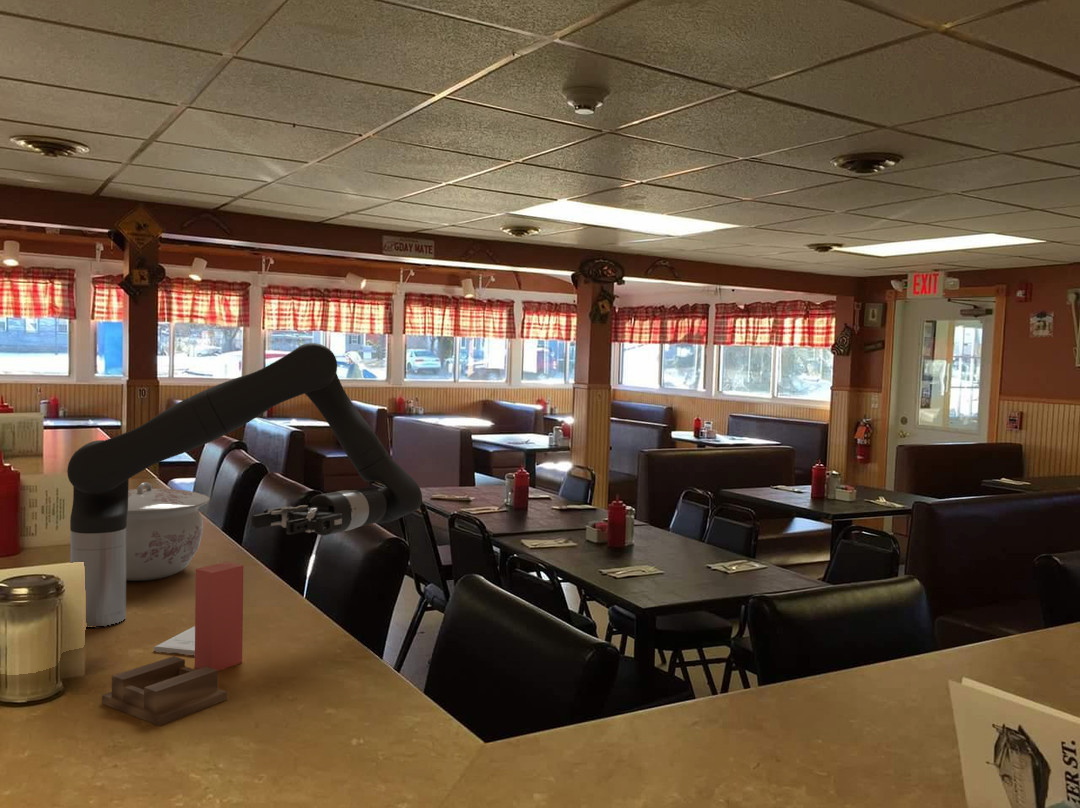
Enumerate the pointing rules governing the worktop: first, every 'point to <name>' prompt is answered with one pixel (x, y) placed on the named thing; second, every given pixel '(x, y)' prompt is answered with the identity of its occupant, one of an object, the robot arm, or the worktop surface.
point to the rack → (164, 691)
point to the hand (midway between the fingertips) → (270, 525)
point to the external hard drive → (179, 643)
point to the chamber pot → (161, 531)
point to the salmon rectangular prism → (219, 616)
